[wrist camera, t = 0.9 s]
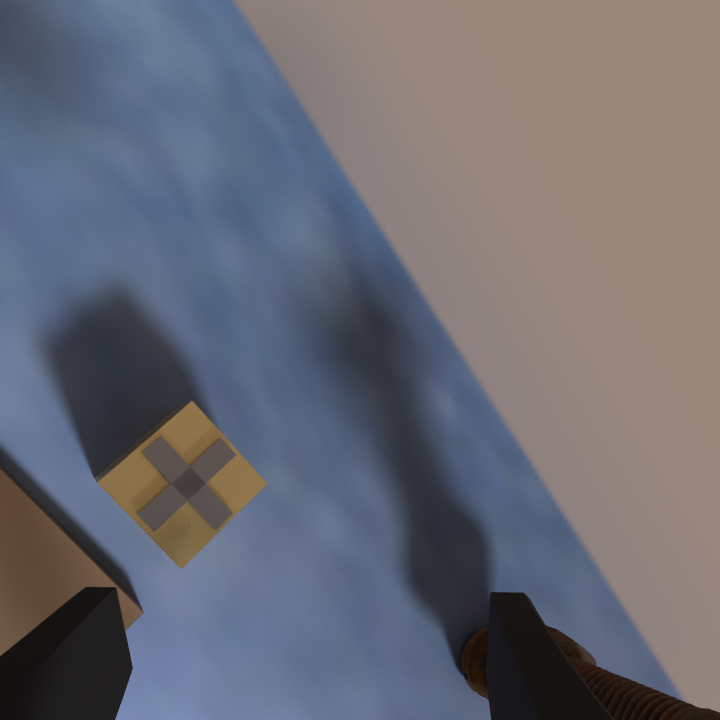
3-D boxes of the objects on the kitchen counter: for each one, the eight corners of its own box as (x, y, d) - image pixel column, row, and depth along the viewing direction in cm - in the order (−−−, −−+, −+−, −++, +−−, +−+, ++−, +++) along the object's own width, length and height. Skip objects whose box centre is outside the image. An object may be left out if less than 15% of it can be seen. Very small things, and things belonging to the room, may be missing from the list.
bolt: (444, 594, 30) (742, 706, 17) (528, 596, 32) (855, 697, 19) (435, 725, 29) (747, 959, 16) (523, 718, 31) (868, 922, 17)
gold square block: (163, 549, 25) (183, 571, 20) (94, 477, 25) (97, 482, 20) (235, 479, 27) (270, 483, 22) (172, 410, 26) (194, 399, 21)
